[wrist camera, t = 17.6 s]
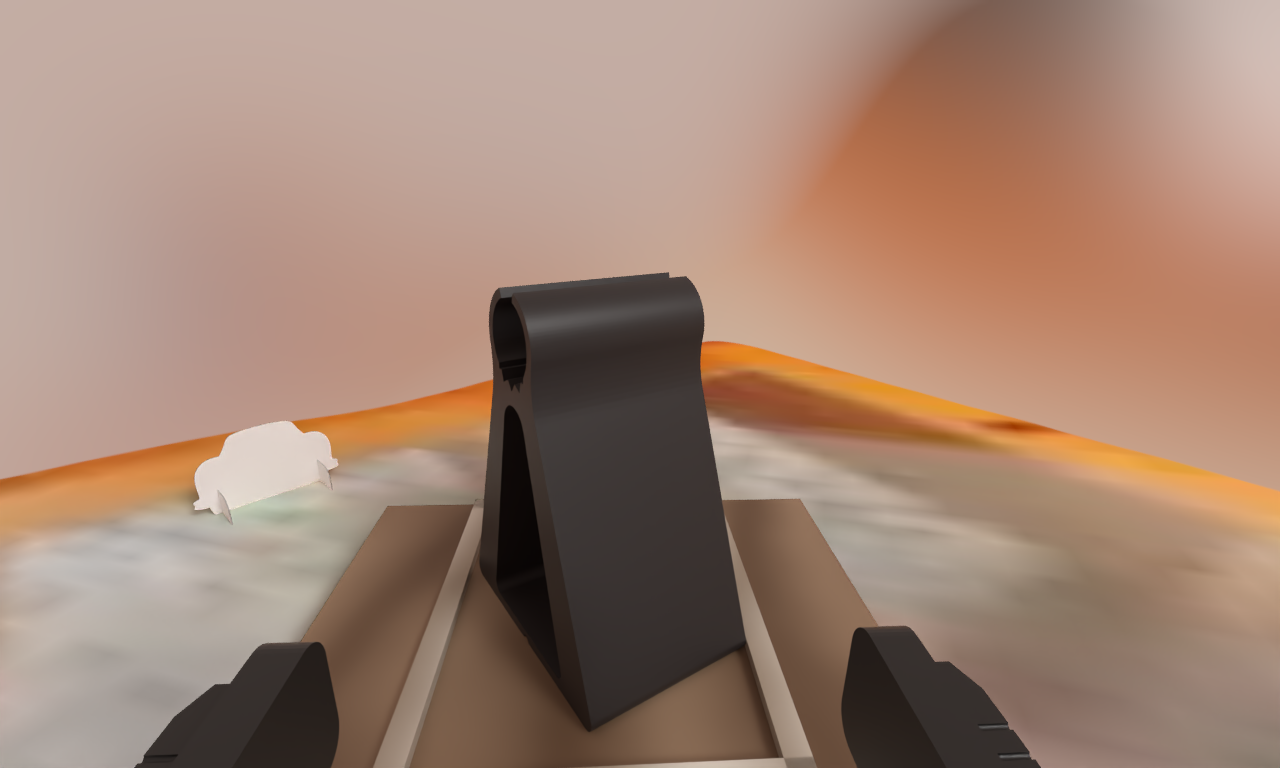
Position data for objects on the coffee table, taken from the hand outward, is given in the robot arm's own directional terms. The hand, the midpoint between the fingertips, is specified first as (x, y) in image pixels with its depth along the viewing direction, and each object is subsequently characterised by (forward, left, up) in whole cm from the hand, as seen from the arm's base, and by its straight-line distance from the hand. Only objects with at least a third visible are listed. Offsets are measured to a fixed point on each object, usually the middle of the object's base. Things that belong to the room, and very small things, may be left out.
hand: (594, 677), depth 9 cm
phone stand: (0, -11, -8) cm, 14 cm away
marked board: (0, -11, -9) cm, 14 cm away
